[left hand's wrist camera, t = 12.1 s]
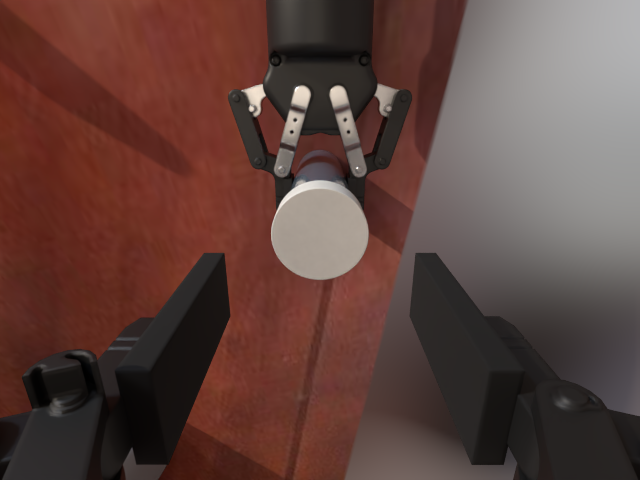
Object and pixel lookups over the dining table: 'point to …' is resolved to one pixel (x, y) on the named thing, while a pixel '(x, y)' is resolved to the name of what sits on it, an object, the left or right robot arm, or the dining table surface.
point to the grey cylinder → (320, 169)
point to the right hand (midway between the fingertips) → (320, 218)
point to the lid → (320, 230)
